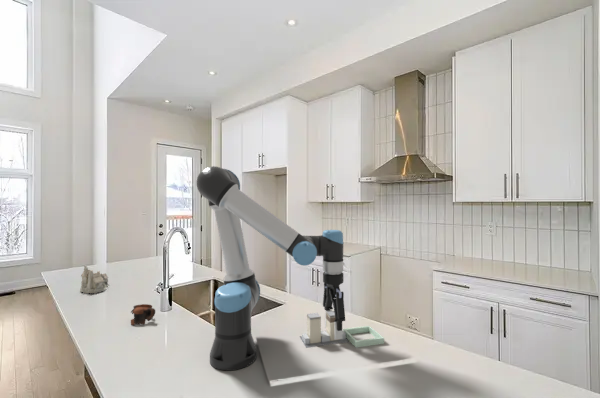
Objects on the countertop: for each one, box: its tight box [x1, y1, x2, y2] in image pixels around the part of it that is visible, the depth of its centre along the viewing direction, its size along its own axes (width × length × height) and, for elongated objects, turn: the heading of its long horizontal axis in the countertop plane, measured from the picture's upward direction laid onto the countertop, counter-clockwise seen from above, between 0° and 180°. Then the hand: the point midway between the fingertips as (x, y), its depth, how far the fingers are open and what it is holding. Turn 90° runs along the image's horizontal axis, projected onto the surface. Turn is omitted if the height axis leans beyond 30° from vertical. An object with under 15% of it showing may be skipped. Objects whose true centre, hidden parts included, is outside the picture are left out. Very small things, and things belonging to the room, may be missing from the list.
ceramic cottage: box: [79, 265, 110, 294], centre depth 182 cm, size 16×16×15 cm
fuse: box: [306, 312, 322, 343], centre depth 112 cm, size 4×4×9 cm
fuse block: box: [299, 329, 350, 349], centre depth 113 cm, size 16×9×3 cm, turn 105°
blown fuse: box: [325, 310, 340, 341], centre depth 114 cm, size 4×4×9 cm
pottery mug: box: [130, 303, 156, 326], centre depth 134 cm, size 12×10×8 cm
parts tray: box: [342, 325, 385, 348], centre depth 113 cm, size 11×11×3 cm
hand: (333, 332), depth 114 cm, fingers open, 9 cm apart
